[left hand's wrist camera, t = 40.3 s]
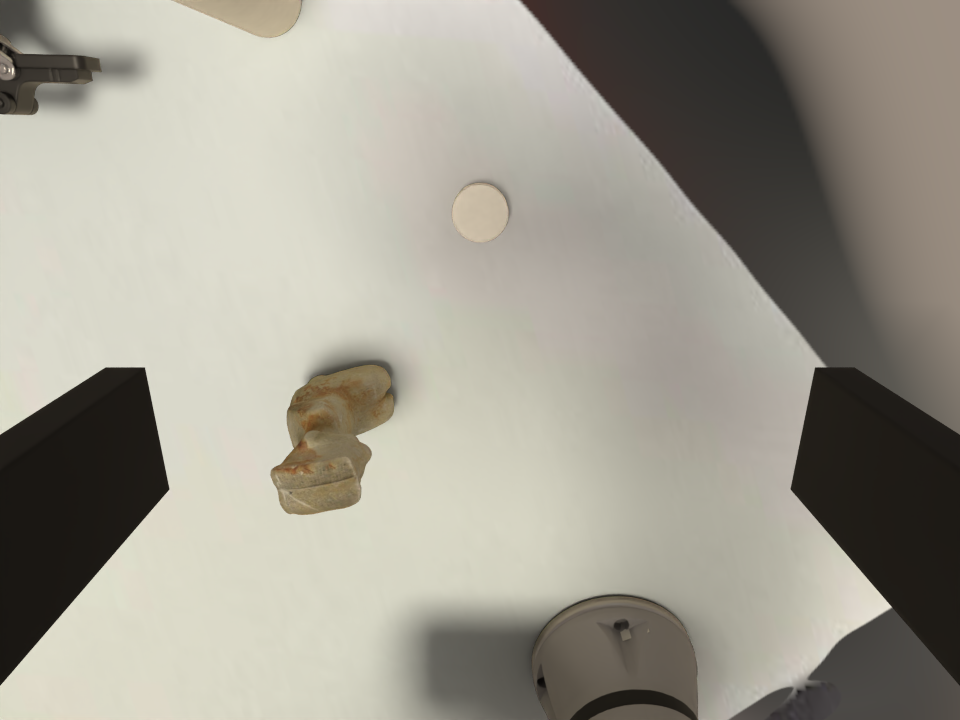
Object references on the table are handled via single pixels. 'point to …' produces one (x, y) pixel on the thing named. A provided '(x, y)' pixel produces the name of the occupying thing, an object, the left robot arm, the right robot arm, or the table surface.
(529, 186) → the table surface
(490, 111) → the table surface
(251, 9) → the bottle
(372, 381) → the sculpture
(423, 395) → the table surface
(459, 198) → the cap
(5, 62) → the right robot arm
